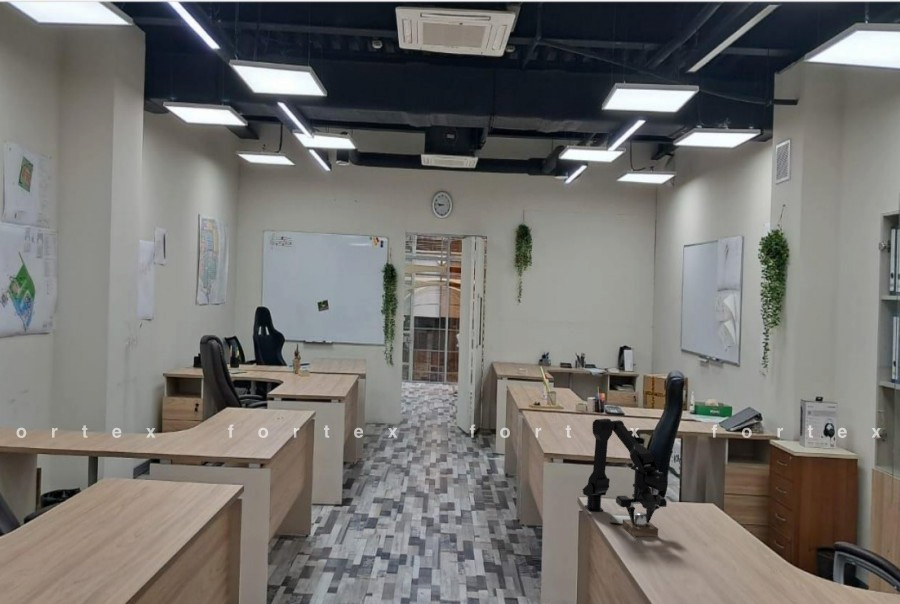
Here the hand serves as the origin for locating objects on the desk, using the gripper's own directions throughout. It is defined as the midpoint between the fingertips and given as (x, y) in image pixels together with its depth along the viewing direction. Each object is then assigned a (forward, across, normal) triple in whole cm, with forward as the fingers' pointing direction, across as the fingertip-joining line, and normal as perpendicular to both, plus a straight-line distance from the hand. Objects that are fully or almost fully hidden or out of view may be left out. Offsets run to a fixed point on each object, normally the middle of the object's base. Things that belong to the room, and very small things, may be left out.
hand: (640, 522), depth 247 cm
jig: (+4, 0, 0) cm, 4 cm away
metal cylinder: (+4, 0, 0) cm, 4 cm away
